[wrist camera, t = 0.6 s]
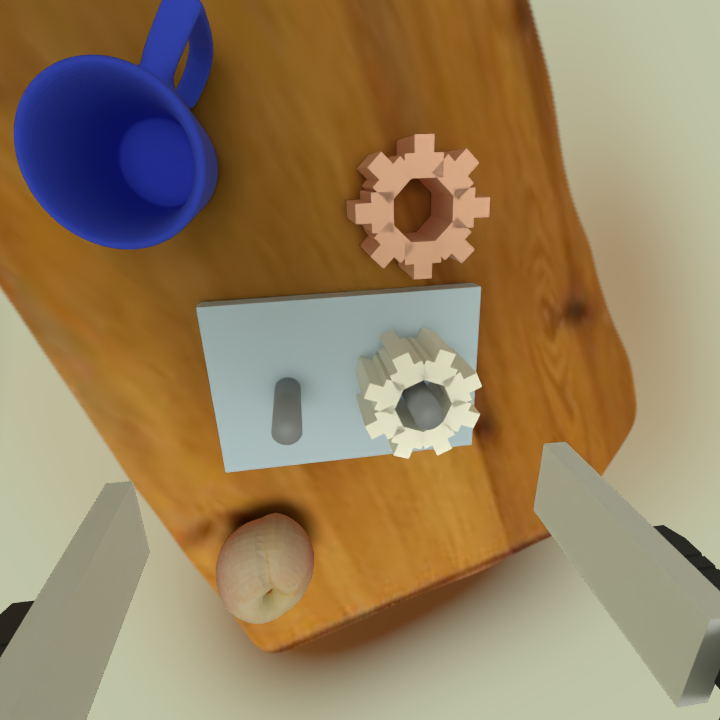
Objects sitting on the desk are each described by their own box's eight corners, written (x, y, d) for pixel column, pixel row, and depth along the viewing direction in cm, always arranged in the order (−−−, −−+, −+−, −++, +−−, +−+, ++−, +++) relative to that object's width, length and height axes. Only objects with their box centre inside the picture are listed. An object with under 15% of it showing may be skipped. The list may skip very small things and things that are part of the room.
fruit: (311, 562, 44) (314, 638, 37) (225, 567, 43) (212, 647, 36) (313, 494, 42) (317, 562, 34) (221, 497, 40) (206, 569, 33)
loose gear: (343, 142, 31) (352, 136, 27) (465, 138, 32) (494, 131, 27) (349, 269, 34) (358, 283, 30) (460, 261, 35) (485, 274, 31)
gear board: (199, 302, 34) (174, 337, 26) (473, 282, 36) (520, 309, 29) (228, 462, 39) (213, 528, 32) (465, 435, 41) (503, 491, 34)
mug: (278, 84, 29) (273, 42, 20) (200, 250, 32) (164, 280, 23) (152, -2, 27) (79, -94, 18) (80, 187, 30) (-13, 193, 21)
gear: (335, 357, 35) (342, 384, 31) (436, 307, 35) (458, 327, 30) (380, 441, 39) (392, 476, 34) (472, 396, 38) (497, 427, 34)
